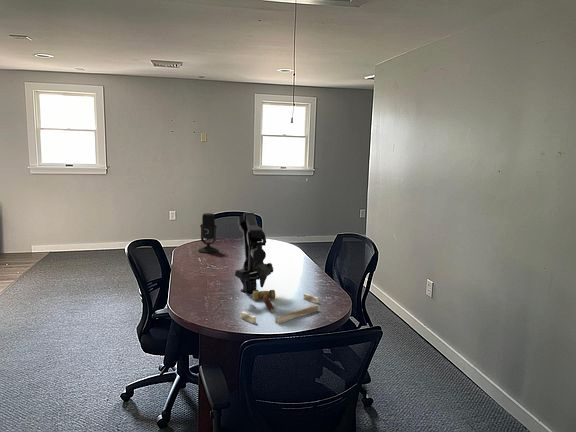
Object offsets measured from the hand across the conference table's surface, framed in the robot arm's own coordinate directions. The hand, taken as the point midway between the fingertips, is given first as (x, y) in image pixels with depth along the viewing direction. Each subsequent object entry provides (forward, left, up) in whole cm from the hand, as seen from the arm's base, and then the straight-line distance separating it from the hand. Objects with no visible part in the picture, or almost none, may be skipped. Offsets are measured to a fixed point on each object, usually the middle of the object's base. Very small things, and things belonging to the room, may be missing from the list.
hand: (254, 289), depth 212 cm
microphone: (-94, +40, -5) cm, 103 cm away
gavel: (+10, 0, -5) cm, 11 cm away
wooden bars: (+22, 0, -5) cm, 22 cm away
